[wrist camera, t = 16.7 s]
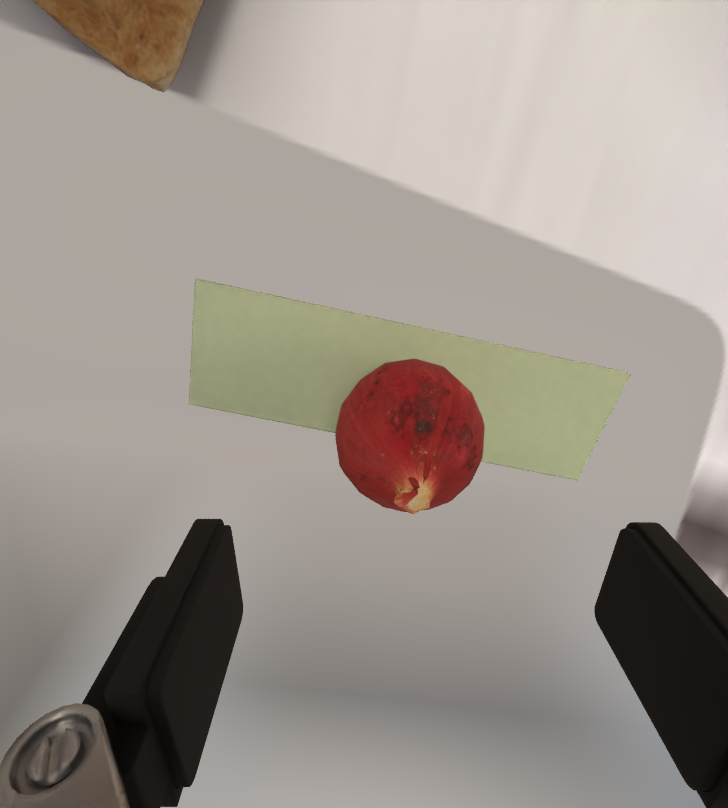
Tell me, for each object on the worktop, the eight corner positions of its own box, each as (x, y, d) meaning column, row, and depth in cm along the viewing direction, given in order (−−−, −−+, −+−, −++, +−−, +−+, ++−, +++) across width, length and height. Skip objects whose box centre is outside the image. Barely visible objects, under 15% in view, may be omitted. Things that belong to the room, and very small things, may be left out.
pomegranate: (359, 323, 19) (351, 393, 12) (481, 355, 20) (547, 442, 12) (330, 435, 21) (308, 551, 14) (440, 461, 22) (474, 586, 15)
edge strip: (190, 401, 21) (188, 404, 21) (197, 278, 19) (194, 279, 18) (575, 477, 23) (577, 480, 22) (627, 371, 20) (631, 374, 20)
